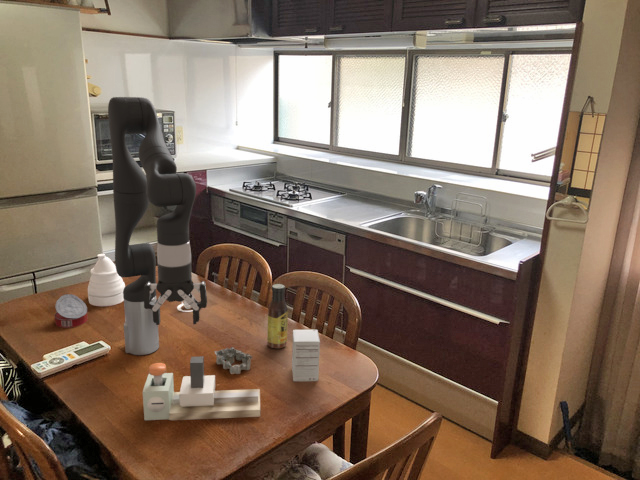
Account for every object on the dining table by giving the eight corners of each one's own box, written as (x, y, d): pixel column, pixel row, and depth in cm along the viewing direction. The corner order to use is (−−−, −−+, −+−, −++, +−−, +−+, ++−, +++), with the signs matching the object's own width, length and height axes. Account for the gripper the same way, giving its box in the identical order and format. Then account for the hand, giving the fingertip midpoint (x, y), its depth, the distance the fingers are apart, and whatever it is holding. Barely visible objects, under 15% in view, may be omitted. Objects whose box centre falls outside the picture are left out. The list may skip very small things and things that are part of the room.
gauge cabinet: (144, 421, 126) (142, 393, 124) (150, 400, 134) (148, 373, 132) (169, 420, 127) (168, 392, 125) (174, 400, 135) (173, 372, 133)
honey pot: (118, 307, 187) (114, 259, 182) (82, 305, 187) (77, 258, 182) (131, 293, 199) (127, 248, 194) (97, 291, 199) (93, 246, 194)
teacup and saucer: (205, 308, 190) (205, 297, 189) (189, 315, 183) (189, 305, 182) (188, 302, 194) (188, 292, 193) (172, 309, 188) (171, 298, 187)
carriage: (179, 410, 127) (178, 368, 124) (183, 391, 135) (182, 351, 131) (213, 409, 128) (212, 367, 125) (215, 390, 136) (214, 351, 132)
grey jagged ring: (254, 369, 151) (254, 356, 150) (231, 377, 147) (231, 364, 145) (234, 354, 159) (234, 342, 158) (212, 361, 154) (212, 349, 153)
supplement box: (291, 367, 152) (292, 328, 149) (316, 367, 153) (318, 328, 149) (292, 382, 145) (293, 341, 142) (318, 381, 146) (320, 341, 142)
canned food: (83, 327, 181) (95, 301, 181) (80, 337, 172) (93, 310, 172) (49, 315, 177) (62, 289, 177) (44, 325, 168) (58, 297, 168)
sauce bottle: (284, 350, 162) (285, 291, 156) (264, 348, 163) (265, 289, 157) (289, 341, 168) (290, 283, 162) (270, 338, 169) (271, 281, 163)
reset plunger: (148, 394, 127) (147, 371, 125) (151, 384, 131) (150, 362, 129) (165, 393, 127) (164, 371, 126) (168, 384, 131) (167, 362, 129)
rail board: (169, 420, 127) (168, 408, 126) (174, 398, 135) (174, 387, 134) (260, 416, 130) (260, 404, 129) (259, 395, 138) (259, 384, 137)
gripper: (139, 265, 115) (143, 331, 120) (204, 265, 117) (206, 329, 122) (144, 254, 122) (148, 317, 127) (206, 254, 125) (208, 315, 129)
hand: (176, 323), depth 125 cm, fingers open, 8 cm apart
